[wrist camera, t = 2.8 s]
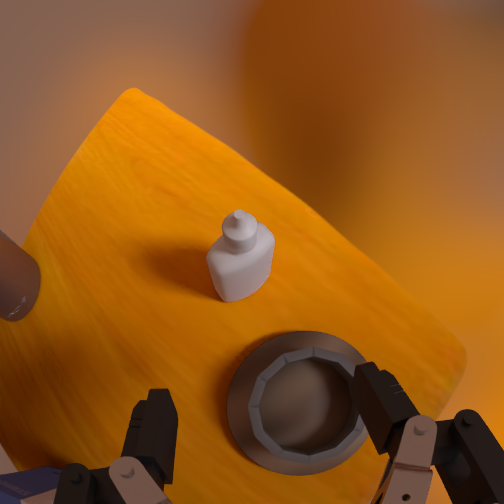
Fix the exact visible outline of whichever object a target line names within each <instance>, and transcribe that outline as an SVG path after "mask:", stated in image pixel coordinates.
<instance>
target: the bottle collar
mask: <svg viewBox="0 0 504 504" xmlns="http://www.w3.org/2000/svg"><path fill="white" fill-rule="evenodd" d="M363 363H367V362H366V360H365V359H364V357H363V356H362V355H361V354H360V353H359V352H358V351H357V350H356V349H355V348H354V347H353V346H351V345H350V344H348V343H347V342H345V341H344V340H342V339H340V338H338V337H336V336H333V335H330V334H327V333H322V332H316V331H297V332H291V333H287V334H283V335H280V336H277V337H275V338H273V339H271V340H269V341H267V342H265V343H264V344H262V345H260V346H259V347H258V348H256V349H255V350H254V351H253V352H252V353H251V354H250V355H249V356H248V357H247V358H246V359H245V360H244V361H243V363H242V364H241V365H240V367H239V368H238V370H237V372H236V373H235V375H234V377H233V380H232V382H231V385H230V388H229V392H228V398H227V417H228V423H229V426H230V429H231V432H232V434H233V437H234V439H235V441H236V442H237V444H238V445H239V447H240V448H241V449H242V450H243V452H244V453H245V454H246V455H247V456H248V457H249V458H251V459H252V460H253V461H254V462H256V463H257V464H259V465H260V466H262V467H264V468H266V469H268V470H271V471H273V472H277V473H280V474H286V475H296V476H303V475H312V474H316V473H320V472H324V471H326V470H329V469H332V468H334V467H335V466H337V465H339V464H341V463H342V462H344V461H345V460H347V459H348V458H349V457H351V456H352V455H353V454H354V453H355V452H356V451H357V450H358V449H359V448H360V447H361V445H362V444H363V443H364V441H365V440H366V438H367V437H368V435H369V433H368V431H367V429H366V427H365V425H364V423H363V421H362V419H361V416H360V414H359V412H358V410H357V408H356V406H355V404H354V402H353V400H352V395H351V387H352V382H353V376H354V370H355V366H356V365H359V364H363Z"/></svg>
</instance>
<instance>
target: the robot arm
mask: <svg viewBox="0 0 504 504" xmlns="http://www.w3.org/2000/svg"><path fill="white" fill-rule="evenodd" d="M39 287H40V271H39V267H38V264H37V262H36V261H35V259H34V258H32V257H31V256H30V255H29V254H28V253H26V252H25V251H24V250H23V249H22V248H20V247H19V246H18V245H17V244H16V243H15V242H14V241H13V240H11V239H10V238H9V237H8V236H7V235H6V234H5V233H4V232H2V231H1V230H0V318H2V319H4V320H7V321H11V322H13V321H18V320H20V319H22V318H23V317H24V316H25V315H26V314H27V313H28V312H29V311H30V310H31V308H32V306H33V305H34V303H35V300H36V298H37V295H38V292H39ZM351 395H352V400H353V402H354V404H355V406H356V408H357V410H358V412H359V414H360V416H361V419H362V421H363V423H364V425H365V427H366V429H367V431H368V433H369V435H370V437H371V439H372V441H373V443H374V445H375V448H376V450H377V452H378V454H379V455H381V454H384V453H386V452H388V454H389V459H388V462H387V465H386V468H385V471H384V473H383V476H382V479H381V481H380V484H379V487H378V489H377V491H376V494H375V496H374V498H373V500H372V501H371V503H370V504H425V502H426V499H427V495H428V491H429V488H430V484H431V479H432V474H433V471H432V470H430V466H431V465H435V468H436V470H437V472H438V474H439V476H440V478H441V480H442V482H443V484H444V486H445V488H446V490H447V492H448V495H449V497H450V499H451V501H452V504H504V450H503V449H502V447H501V446H500V444H499V443H498V441H497V440H496V438H495V437H494V435H493V434H492V432H491V431H490V430H489V428H488V426H487V425H486V424H485V422H484V421H483V419H482V418H481V416H480V415H479V414H478V413H477V412H475V411H473V410H470V409H465V410H461V411H459V412H458V413H457V414H456V416H455V417H454V419H451V420H444V421H434V420H433V419H432V418H430V417H428V416H425V415H420V413H419V412H418V411H417V409H416V408H415V406H414V405H413V403H412V402H411V400H410V399H409V397H408V396H407V394H406V393H405V391H403V388H402V387H401V385H399V383H398V381H397V380H396V378H395V377H394V375H392V374H391V373H389V372H388V371H386V370H381V371H379V369H378V368H377V366H376V364H375V363H374V362H372V361H371V362H367V363H363V364H359V365H356V366H355V370H354V376H353V382H352V387H351ZM177 429H178V415H177V411H176V408H175V406H174V403H173V400H172V398H171V395H170V392H169V390H168V389H150V390H149V394H148V398H147V400H140V401H139V402H138V403H137V405H136V406H135V407H134V408H133V411H132V415H131V420H130V422H129V428H128V430H127V434H126V438H125V442H124V446H123V450H122V454H121V457H120V458H118V459H116V460H115V461H114V462H113V463H112V464H111V465H110V467H106V468H100V469H93V470H88V469H87V468H86V467H85V466H84V465H82V464H78V463H73V464H69V465H67V466H66V467H65V468H64V469H63V470H62V472H61V474H60V478H59V482H58V486H57V490H56V494H55V498H54V502H53V504H172V502H171V501H170V500H169V499H168V497H167V496H166V495H165V494H164V493H163V491H164V484H172V482H173V470H174V458H175V448H176V438H177Z"/></svg>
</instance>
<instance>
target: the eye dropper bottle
mask: <svg viewBox="0 0 504 504" xmlns="http://www.w3.org/2000/svg"><path fill="white" fill-rule="evenodd" d="M222 231H223V235H222V236H221V237H220V238H219V239H218V240H217V241H216V242H215V243H214V244H213V246H212V247H211V248H210V250H209V252H208V253H207V257H206V260H207V264H208V268H209V271H210V275H211V278H212V281H213V284H214V288H215V290H216V291H217V293H218V294H219V296H220V297H221V299H222V300H223V301H225V302H234V301H238V300H241V299H243V298H245V297H248V296H249V295H251V294H253V293H254V292H255V291H257V290H258V289H259V288H260V287H261V286H262V285H263V284H264V282H265V281H266V279H267V278H268V276H269V274H270V269H271V263H272V257H273V251H274V243H275V239H274V236H273V234H272V233H271V232H270V230H269V229H268V228H267V227H266V226H265V225H264V224H262V223H259V222H257V221H256V219H255V218H254V217H253V216H252V215H251V214H249V213H247V212H244V211H243V210H236V211H235V212H233V213H231V214H229V215H228V216H227V217H226V218H225V219H224V221H223V224H222Z"/></svg>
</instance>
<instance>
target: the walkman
mask: <svg viewBox="0 0 504 504" xmlns="http://www.w3.org/2000/svg"><path fill="white" fill-rule="evenodd" d="M61 472H62V470H60V469H57V468H53V467H49V466H45V467H41V468H36V469H31V470H26V471H21V472H15V473H10V474H4V475H0V504H53V502H54V498H55V494H56V490H57V486H58V482H59V478H60V474H61Z"/></svg>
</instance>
